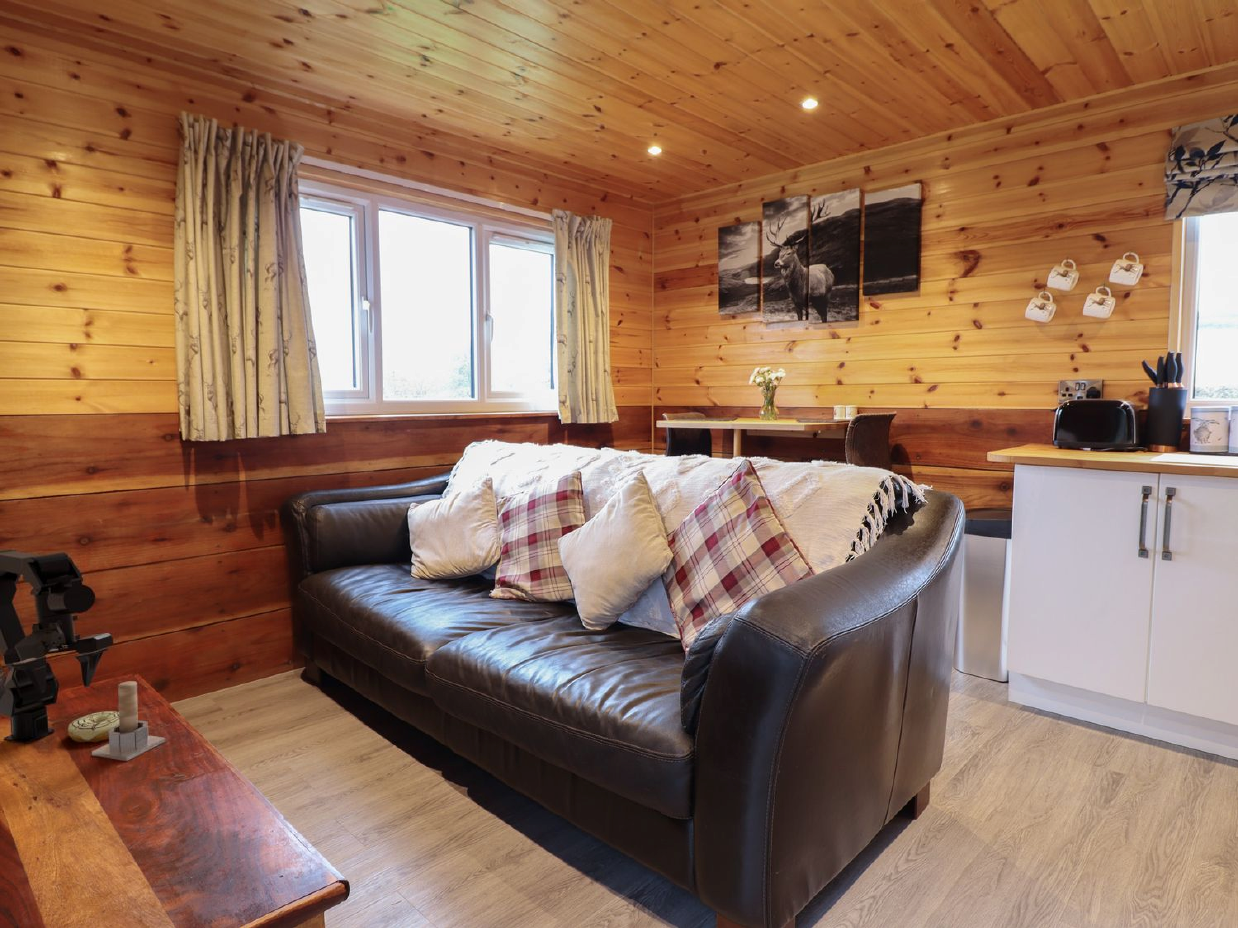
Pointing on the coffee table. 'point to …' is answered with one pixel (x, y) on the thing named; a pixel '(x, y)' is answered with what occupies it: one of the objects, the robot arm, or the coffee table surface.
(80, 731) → the decorated donut
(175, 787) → the coffee table surface
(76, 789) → the coffee table surface
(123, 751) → the cup bracket
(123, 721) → the wooden post
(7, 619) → the robot arm
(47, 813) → the coffee table surface
